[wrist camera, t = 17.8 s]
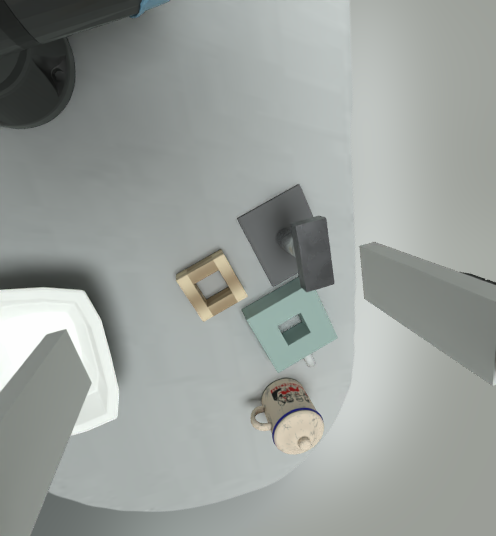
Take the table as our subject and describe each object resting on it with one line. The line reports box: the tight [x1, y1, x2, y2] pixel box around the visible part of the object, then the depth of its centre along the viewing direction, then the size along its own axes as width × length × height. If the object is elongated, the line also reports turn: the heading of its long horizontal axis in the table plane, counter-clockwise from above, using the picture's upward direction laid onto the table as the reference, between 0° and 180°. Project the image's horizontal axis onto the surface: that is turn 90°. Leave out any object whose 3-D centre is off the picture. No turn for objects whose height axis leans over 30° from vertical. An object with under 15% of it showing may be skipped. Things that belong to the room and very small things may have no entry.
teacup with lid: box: [251, 379, 324, 454], centre depth 54 cm, size 12×9×12 cm
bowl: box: [0, 287, 119, 436], centre depth 43 cm, size 22×23×8 cm
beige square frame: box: [176, 250, 248, 322], centre depth 48 cm, size 8×8×3 cm
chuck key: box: [276, 216, 334, 292], centre depth 44 cm, size 4×9×12 cm, turn 12°
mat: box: [237, 184, 313, 287], centre depth 50 cm, size 13×11×1 cm
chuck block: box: [242, 277, 338, 373], centre depth 54 cm, size 16×12×4 cm
